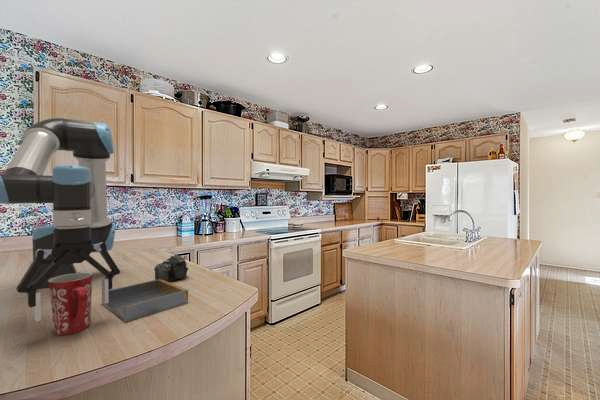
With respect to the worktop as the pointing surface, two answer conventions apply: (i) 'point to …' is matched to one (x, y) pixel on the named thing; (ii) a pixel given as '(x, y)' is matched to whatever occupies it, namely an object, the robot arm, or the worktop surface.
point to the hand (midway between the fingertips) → (73, 310)
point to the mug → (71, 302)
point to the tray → (145, 299)
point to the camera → (171, 269)
